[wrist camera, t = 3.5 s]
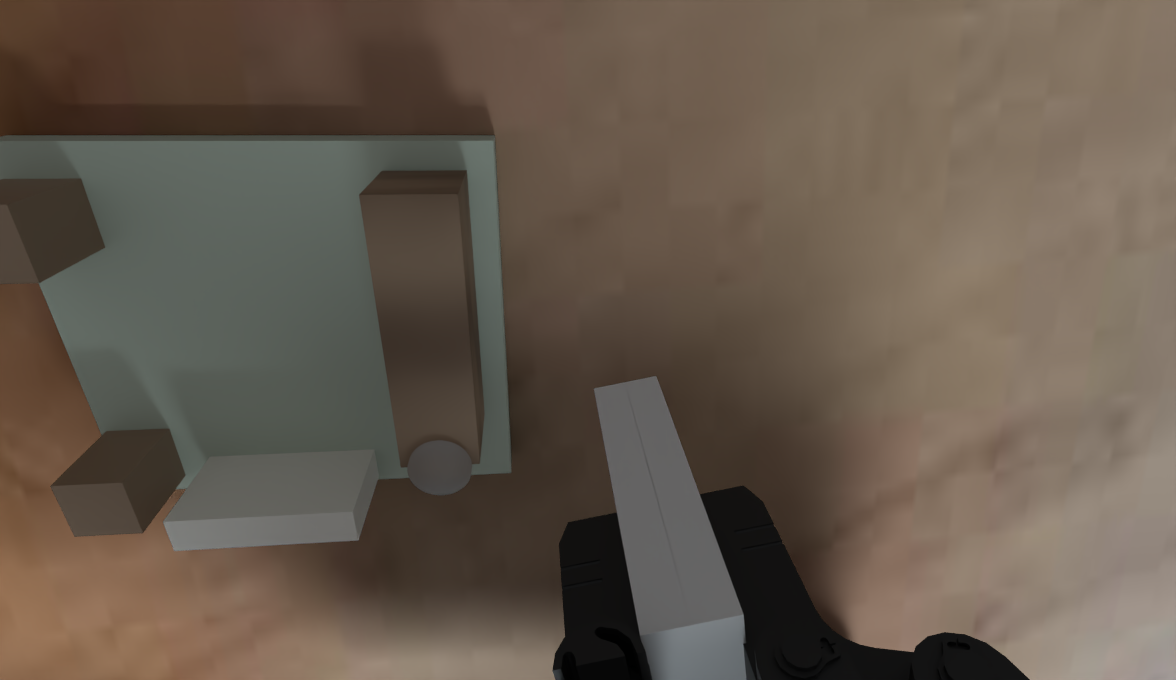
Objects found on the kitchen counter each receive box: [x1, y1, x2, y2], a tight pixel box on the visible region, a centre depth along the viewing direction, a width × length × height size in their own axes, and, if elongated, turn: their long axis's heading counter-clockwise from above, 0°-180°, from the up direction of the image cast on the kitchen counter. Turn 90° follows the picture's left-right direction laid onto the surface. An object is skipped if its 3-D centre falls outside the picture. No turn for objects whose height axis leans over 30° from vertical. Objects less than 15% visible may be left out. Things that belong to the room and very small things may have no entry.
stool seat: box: [0, 135, 512, 551], centre depth 24 cm, size 17×15×5 cm
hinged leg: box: [359, 170, 485, 495], centre depth 23 cm, size 12×3×4 cm, turn 179°
